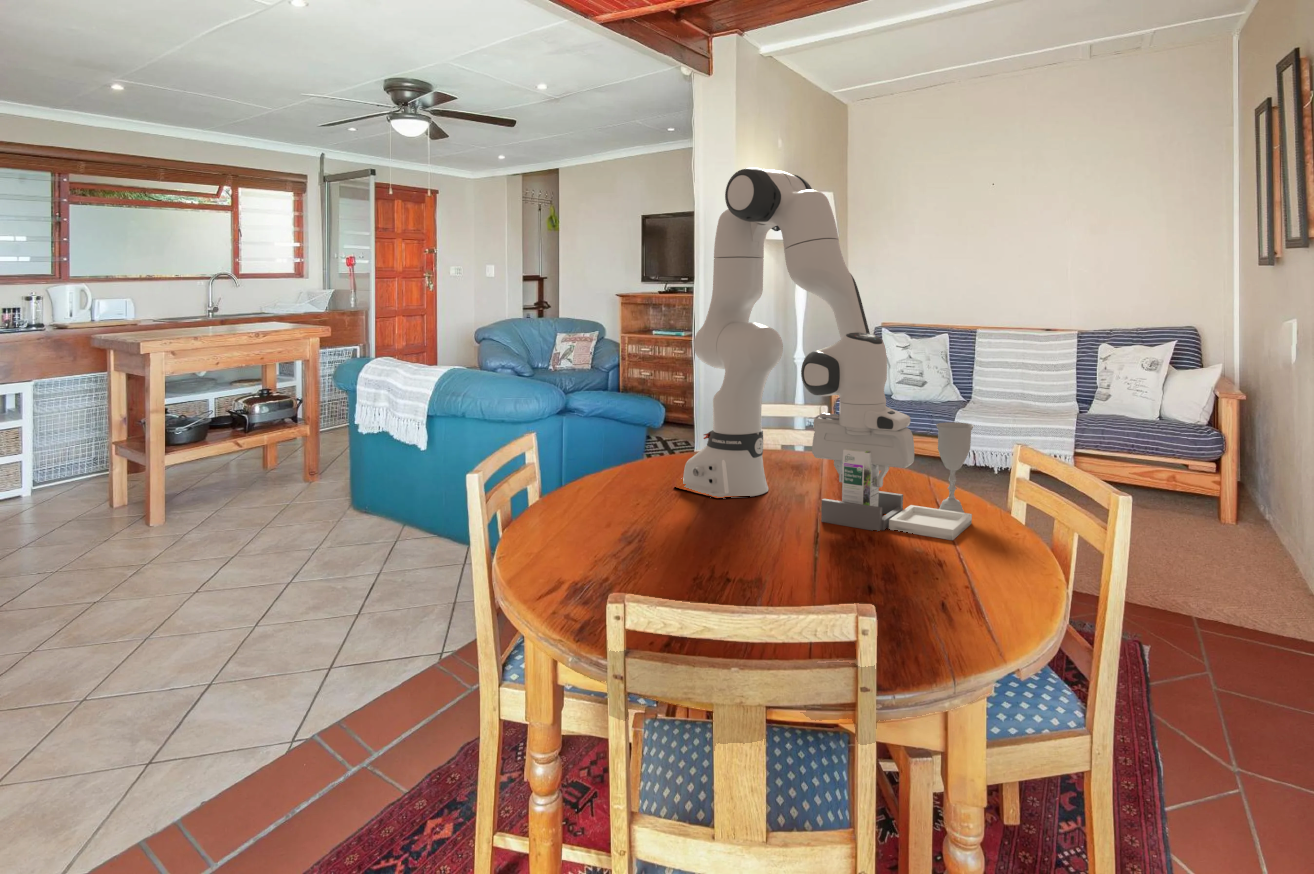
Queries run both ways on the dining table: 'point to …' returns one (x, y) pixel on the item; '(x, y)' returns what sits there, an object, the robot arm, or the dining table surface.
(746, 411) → the robot arm
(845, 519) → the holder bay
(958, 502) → the chalice
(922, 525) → the tray
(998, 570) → the dining table surface
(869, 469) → the syrup box
